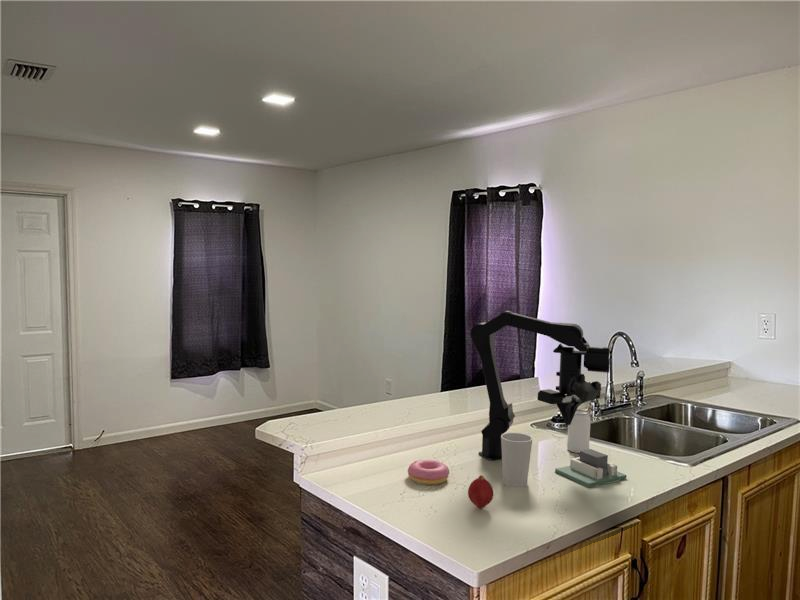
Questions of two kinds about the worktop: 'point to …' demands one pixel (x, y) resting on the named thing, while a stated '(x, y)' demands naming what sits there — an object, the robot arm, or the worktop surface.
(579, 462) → the board
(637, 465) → the worktop surface
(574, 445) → the can
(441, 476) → the doughnut
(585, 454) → the plug
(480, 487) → the onion
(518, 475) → the cup
